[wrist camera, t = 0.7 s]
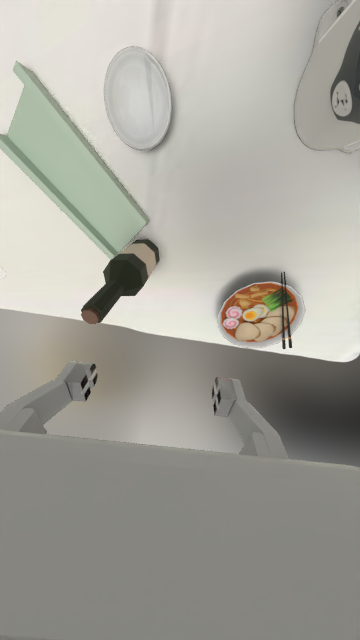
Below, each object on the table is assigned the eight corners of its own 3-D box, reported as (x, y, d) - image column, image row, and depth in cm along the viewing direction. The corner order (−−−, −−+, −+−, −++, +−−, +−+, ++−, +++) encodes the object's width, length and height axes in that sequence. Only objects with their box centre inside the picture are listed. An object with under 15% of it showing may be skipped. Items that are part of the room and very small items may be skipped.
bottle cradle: (32, 71, 32) (16, 60, 29) (149, 220, 44) (146, 222, 41) (6, 142, 38) (-9, 139, 35) (115, 255, 50) (110, 259, 47)
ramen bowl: (207, 279, 52) (207, 292, 45) (294, 255, 45) (310, 266, 39) (224, 340, 65) (226, 357, 58) (293, 328, 58) (304, 345, 52)
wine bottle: (128, 262, 51) (62, 328, 27) (133, 233, 46) (57, 281, 22) (155, 273, 52) (115, 345, 28) (163, 245, 47) (122, 304, 23)
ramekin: (186, 121, 33) (184, 112, 29) (144, 168, 38) (137, 166, 34) (147, 41, 28) (137, 15, 24) (104, 106, 33) (90, 94, 29)
